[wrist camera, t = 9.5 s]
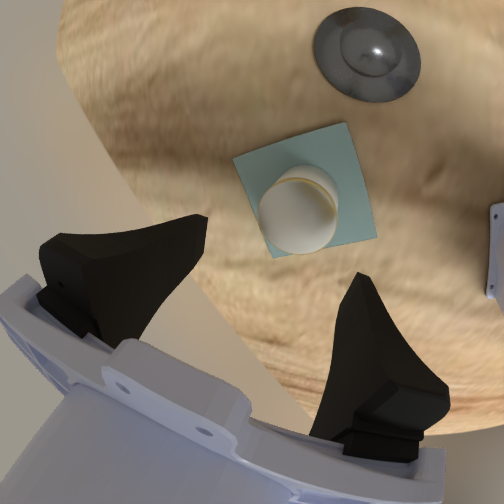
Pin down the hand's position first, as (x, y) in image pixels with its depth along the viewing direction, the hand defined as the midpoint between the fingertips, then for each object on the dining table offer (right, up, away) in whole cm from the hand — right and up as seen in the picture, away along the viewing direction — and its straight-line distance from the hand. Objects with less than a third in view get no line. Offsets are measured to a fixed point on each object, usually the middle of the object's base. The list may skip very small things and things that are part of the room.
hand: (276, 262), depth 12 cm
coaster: (+3, +5, +8) cm, 10 cm away
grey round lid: (+7, +14, +1) cm, 16 cm away
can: (+3, +5, +8) cm, 10 cm away
